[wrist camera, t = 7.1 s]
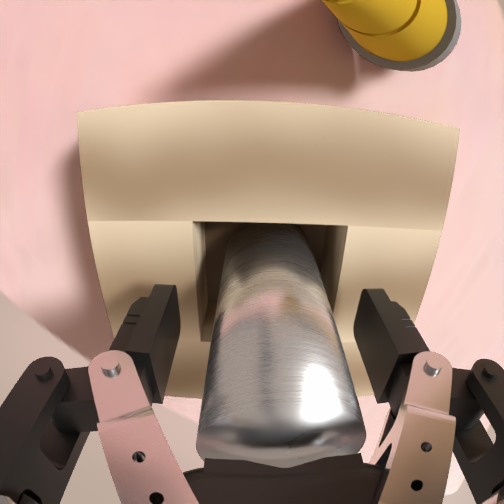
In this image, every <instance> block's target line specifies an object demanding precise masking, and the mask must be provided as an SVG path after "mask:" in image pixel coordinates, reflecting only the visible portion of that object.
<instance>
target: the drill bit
mask: <svg viewBox="0 0 504 504" xmlns="http://www.w3.org/2000/svg"><path fill="white" fill-rule="evenodd" d="M322 2H323V3H324V4H325V5H326V6H327V7H328V8H329V9H330V10H331V12H332V13H333V14H334V15H335V16H336V17H337V20H338V24H339V27H340V30H341V31H342V33H343V35H344V37H345V39H346V40H347V42H348V43H349V44H350V46H351V47H352V48H353V49H354V50H355V51H356V52H357V53H358V54H359V55H360V56H362V57H363V58H365V59H366V60H368V61H369V62H371V63H374V64H376V65H378V66H381V67H385V68H389V69H393V70H399V71H420V70H425V69H428V68H431V67H433V66H435V65H437V64H438V63H440V62H442V61H443V60H444V59H445V58H446V57H447V56H448V55H449V54H450V53H451V52H452V50H453V49H454V47H455V45H456V44H457V41H458V38H459V35H460V30H461V16H460V9H459V7H458V4H457V1H456V0H322Z"/></svg>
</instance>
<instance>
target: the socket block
mask: <svg viewBox="0 0 504 504" xmlns="http://www.w3.org/2000/svg"><path fill="white" fill-rule="evenodd" d="M77 126H78V142H79V155H80V166H81V175H82V184H83V192H84V200H85V207H86V214H87V220H88V226H89V232H90V238H91V243H92V249H93V254H94V259H95V264H96V269H97V273H98V278H99V282H100V287H101V291H102V295H103V299H104V303H105V307H106V311H107V315H108V319H109V322H110V326H111V329H112V333H113V336H114V339H115V337H116V335H117V333H118V331H119V329H120V326H121V324H123V320H124V318H125V316H127V312H128V310H129V308H130V306H131V305H132V304H133V303H134V302H135V301H136V300H138V299H139V298H140V297H149V295H150V293H151V291H152V289H153V287H154V285H155V284H168V285H176V287H177V294H178V303H179V311H180V320H181V329H180V336H179V340H178V344H177V348H176V352H175V355H174V359H173V363H172V367H171V371H170V375H169V379H168V383H167V387H166V391H165V395H164V396H175V397H186V398H199V399H202V398H203V391H204V384H205V377H206V371H207V364H208V358H209V351H210V345H211V338H212V332H213V326H214V319H215V313H216V307H217V301H218V295H219V289H220V283H221V277H222V271H223V265H224V259H225V254H226V248H227V244H228V241H229V238H230V237H231V235H232V233H233V232H234V231H235V230H236V229H237V228H238V227H239V226H240V225H241V224H242V223H244V222H259V223H293V224H297V225H298V226H299V227H300V228H301V229H302V230H303V231H304V233H305V234H306V236H307V238H308V241H309V243H310V246H311V249H312V252H313V255H314V258H315V261H316V264H317V267H318V270H319V273H320V276H321V279H322V282H323V285H324V288H325V291H326V294H327V298H328V301H329V304H330V307H331V310H332V313H333V317H334V320H335V323H336V326H337V330H338V333H339V336H340V340H341V343H342V346H343V350H344V353H345V356H346V360H347V363H348V367H349V370H350V374H351V377H352V381H353V385H354V388H355V392H356V395H357V397H359V396H369V395H374V392H373V389H372V386H371V383H370V380H369V377H368V375H367V372H366V369H365V366H364V363H363V360H362V358H361V355H360V352H359V349H358V346H357V344H356V341H355V338H354V332H353V326H354V320H355V316H356V312H357V308H358V304H359V300H360V295H361V292H362V290H363V289H377V288H382V289H384V290H385V292H386V294H387V295H388V297H389V299H390V300H391V301H396V302H397V303H398V304H399V305H400V306H402V307H403V308H404V309H405V310H406V312H407V313H408V315H409V317H410V320H412V322H413V323H414V322H415V319H416V317H417V314H418V311H419V308H420V305H421V302H422V299H423V296H424V293H425V290H426V287H427V284H428V280H429V277H430V274H431V270H432V267H433V263H434V260H435V256H436V253H437V249H438V245H439V241H440V237H441V233H442V229H443V225H444V220H445V216H446V211H447V207H448V202H449V197H450V192H451V186H452V181H453V175H454V169H455V162H456V156H457V148H458V140H459V132H460V129H458V128H454V127H450V126H446V125H442V124H438V123H433V122H429V121H424V120H419V119H415V118H409V117H404V116H399V115H393V114H387V113H381V112H375V111H368V110H361V109H354V108H346V107H338V106H329V105H318V104H307V103H294V102H277V101H249V100H205V101H178V102H161V103H148V104H137V105H127V106H118V107H110V108H102V109H95V110H88V111H81V112H77Z"/></svg>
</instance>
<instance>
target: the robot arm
mask: <svg viewBox="0 0 504 504" xmlns="http://www.w3.org/2000/svg"><path fill="white" fill-rule="evenodd" d="M180 329H181V320H180V311H179V303H178V294H177V287H176V285H168V284H155V285H154V287H153V289H152V291H151V293H150V295H149V297H140V298H139V299H138V300H136V301H135V302H134V303H133V304H132V305H131V306H130V308H129V310H128V312H127V316H125V318H124V320H123V324H121V326H120V329H119V331H118V333H117V335H116V337H115V339H114V341H113V343H112V345H111V347H110V349H109V351H106V352H103V353H100V354H99V355H97V356H96V357H94V358H93V359H92V361H91V362H90V364H89V366H88V367H81V368H72V369H65V368H64V366H63V364H62V362H61V361H60V360H58V359H57V358H54V357H43V358H39V359H37V360H35V361H33V362H32V363H31V364H30V365H29V366H28V367H27V369H26V370H25V372H24V373H23V374H22V376H21V377H20V379H19V380H18V381H17V383H16V384H15V386H14V388H13V389H12V390H11V392H10V393H9V395H8V396H7V398H6V399H5V401H4V402H3V404H2V405H1V407H0V504H60V501H61V499H62V496H63V494H64V491H65V489H66V486H67V484H68V482H69V479H70V477H71V474H72V472H73V470H74V467H75V465H76V463H77V460H78V458H79V456H80V453H81V451H82V449H83V446H84V444H85V442H86V440H87V437H88V435H89V433H90V431H98V432H99V436H100V440H101V443H102V447H103V450H104V454H105V456H106V460H107V463H108V467H109V470H110V473H111V476H112V479H113V481H114V484H115V487H116V490H117V493H118V496H119V498H120V501H121V504H442V502H443V498H444V493H445V489H446V484H447V479H448V474H449V468H450V463H451V457H452V451H453V453H454V455H455V457H456V459H457V461H458V463H459V466H460V468H461V470H462V472H463V474H464V476H465V479H466V481H467V483H468V485H469V488H470V490H471V492H472V494H473V497H474V499H475V501H476V504H504V370H503V368H502V367H501V366H500V365H499V364H497V363H496V362H494V361H492V360H489V359H480V360H477V361H476V362H475V363H474V365H473V367H472V369H471V370H465V369H457V368H452V366H451V364H450V362H449V361H448V360H447V359H446V358H445V357H444V356H442V355H440V354H438V353H435V352H431V351H429V349H428V347H427V345H426V344H425V342H424V340H423V338H422V337H421V335H420V333H419V332H418V330H417V328H416V327H415V325H414V323H413V322H412V320H410V317H409V315H408V313H407V312H406V310H405V309H404V308H403V307H402V306H400V305H399V304H398V303H397V302H396V301H391V300H390V299H389V297H388V295H387V294H386V292H385V290H384V289H382V288H377V289H363V290H362V292H361V295H360V300H359V304H358V308H357V312H356V316H355V320H354V326H353V332H354V338H355V341H356V344H357V346H358V349H359V352H360V355H361V358H362V360H363V363H364V366H365V369H366V372H367V375H368V377H369V380H370V383H371V386H372V389H373V392H374V395H375V398H376V401H377V404H378V403H386V402H389V404H390V409H389V411H388V413H387V415H386V419H385V422H384V425H383V428H382V431H381V434H380V437H379V440H378V443H377V446H376V449H375V451H374V454H373V456H372V458H371V460H370V462H369V464H368V463H363V460H362V456H361V453H358V454H350V455H341V456H332V457H324V458H321V459H317V460H314V461H311V462H307V463H304V464H301V465H297V466H293V467H289V468H280V467H275V466H270V465H265V464H260V463H256V462H251V461H247V460H231V459H212V458H205V462H204V468H198V469H194V470H190V471H186V472H183V473H182V472H181V469H180V467H179V465H178V463H177V461H176V460H175V457H174V456H173V453H172V451H171V449H170V447H169V445H168V443H167V440H166V438H165V436H164V434H163V432H162V429H161V427H160V425H159V423H158V420H157V418H156V416H155V414H154V411H153V410H152V408H151V406H152V403H159V404H163V399H164V395H165V391H166V387H167V383H168V379H169V375H170V371H171V367H172V363H173V359H174V355H175V352H176V348H177V344H178V340H179V336H180ZM484 413H485V415H486V417H487V418H488V420H489V422H490V423H491V425H492V427H493V428H494V430H495V433H496V441H495V443H494V445H493V443H492V441H491V439H490V437H489V436H488V434H487V432H486V430H485V428H484V427H483V425H482V423H481V421H480V420H479V419H480V418H481V416H482V415H483V414H484Z"/></svg>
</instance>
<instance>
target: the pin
mask: <svg viewBox="0 0 504 504" xmlns="http://www.w3.org/2000/svg"><path fill="white" fill-rule="evenodd" d="M365 440H366V430H365V426H364V422H363V418H362V414H361V410H360V407H359V403H358V399H357V395H356V392H355V388H354V385H353V381H352V377H351V374H350V370H349V367H348V363H347V360H346V356H345V353H344V350H343V346H342V343H341V340H340V336H339V333H338V330H337V326H336V323H335V320H334V317H333V313H332V310H331V307H330V304H329V301H328V298H327V294H326V291H325V288H324V285H323V282H322V279H321V276H320V273H319V270H318V267H317V264H316V261H315V258H314V255H313V252H312V249H311V246H310V243H309V241H308V238H307V236H306V234H305V233H304V231H303V230H302V229H301V228H300V227H299V226H298V225H297V224H293V223H259V222H244V223H242V224H241V225H240V226H239V227H238V228H237V229H236V230H235V231H234V232H233V233H232V235H231V237H230V238H229V241H228V244H227V248H226V254H225V259H224V265H223V271H222V277H221V283H220V289H219V295H218V301H217V307H216V313H215V319H214V326H213V332H212V338H211V345H210V351H209V358H208V364H207V371H206V377H205V384H204V391H203V398H202V405H201V412H200V419H199V426H198V434H197V441H196V449H197V452H198V454H199V456H200V457H201V459H202V460H203V461H204V462H205V458H212V459H231V460H247V461H251V462H256V463H260V464H265V465H270V466H275V467H280V468H289V467H293V466H297V465H301V464H304V463H307V462H311V461H314V460H317V459H321V458H324V457H332V456H341V455H350V454H357V453H358V452H359V451H360V449H361V448H362V447H363V445H364V443H365Z"/></svg>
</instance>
